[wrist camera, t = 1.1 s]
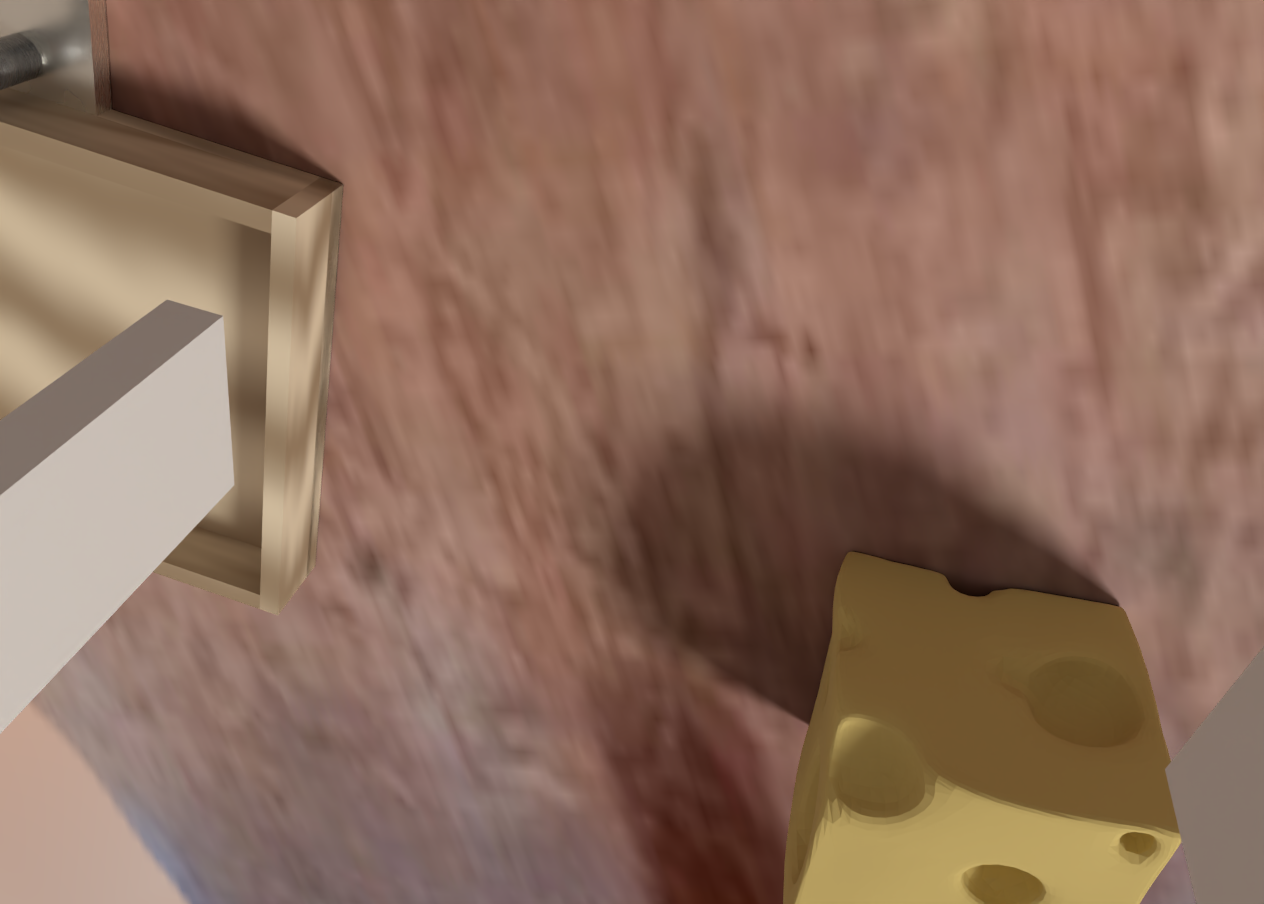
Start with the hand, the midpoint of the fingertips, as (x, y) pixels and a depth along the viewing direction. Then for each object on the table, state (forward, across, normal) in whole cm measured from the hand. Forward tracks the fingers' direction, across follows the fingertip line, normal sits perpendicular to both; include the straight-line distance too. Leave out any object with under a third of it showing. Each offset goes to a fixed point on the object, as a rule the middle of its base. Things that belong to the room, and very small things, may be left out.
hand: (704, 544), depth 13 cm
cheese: (+20, +11, -20) cm, 30 cm away
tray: (+20, -24, -15) cm, 34 cm away
